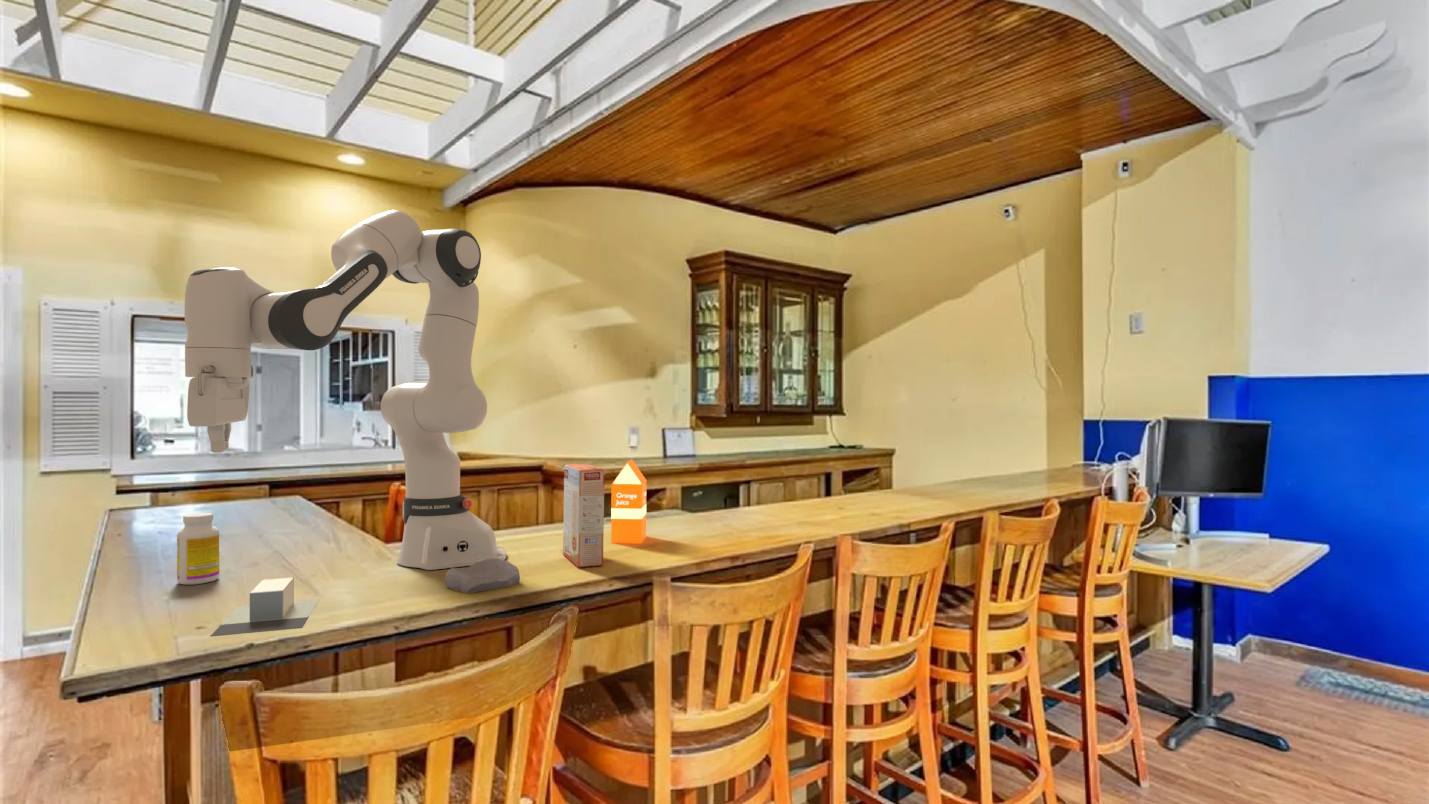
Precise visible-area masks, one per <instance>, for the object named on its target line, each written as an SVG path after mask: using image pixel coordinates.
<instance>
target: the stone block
mask: <svg viewBox="0 0 1429 804" xmlns="http://www.w3.org/2000/svg"><path fill="white" fill-rule="evenodd" d="M520 578H521V575H520V570H519V568H518V567H517V566H516V565H514V564H512V563H511V562H510V561H508V560H506V559H504V560H503V559H495V558H491V559H485V560H483V561H480V562H476V563H474V564H473V565H470V566H466V567H462V568H460V567H452V568H449V569H448V570H447V572H446V573H445V577H444V583H445V586H446V588H447V589H451V590H454V591H459V592H461V593H463V594H472V593H478V592H484V591H490V590H497V589H498V590H499V589H503V588H510V587H512V586H514V585H517V584H519V583H520V580H521V579H520Z"/></svg>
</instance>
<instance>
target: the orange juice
mask: <svg viewBox="0 0 1429 804" xmlns="http://www.w3.org/2000/svg"><path fill="white" fill-rule="evenodd" d="M647 481H648V480H647V479H646V478H645V476H644V475H643V473H642V472H641V470H640V468H639V467H638V465H637V464H636V462H635V461H634V460H633V458H631V459H629V460H628V461H627V462H626V463H625V465H624V466H623V468H622V469H621V470H620V472H619V474H618V475H617V476H616V478H615V479H614V480H613V482H612V483H611V502H610V503H611V505H610V507H611V508H610V511H611V515H610V518H611V521H610V524H611V526H610V528H611V529H610V530H611V531H610V533H611V534H610V537H611V538H610V539H611V540H610V543H611V544H642V543H643V541H644V540H645V538H646V537H647Z"/></svg>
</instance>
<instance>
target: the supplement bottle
mask: <svg viewBox="0 0 1429 804" xmlns="http://www.w3.org/2000/svg"><path fill="white" fill-rule="evenodd" d="M182 517H183V518H182V522H183V524H184V527H183V528H181V529H179V530H178V531H177V534H176V559H177V560H176V580H177V582H178V584H180V585H185V586H189V585H190V586H191V585H192V586H193V585H202V584H206V583H211V582H214V581H216V580H218V579H219V578H220V529H219V528H218V527H217V526H215V525H213V524H212V522H213V521H214V514H213V512H195V513H189V514H184V515H183V516H182Z"/></svg>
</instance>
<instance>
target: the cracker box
mask: <svg viewBox="0 0 1429 804" xmlns="http://www.w3.org/2000/svg"><path fill="white" fill-rule="evenodd" d="M605 470H606V469H604V468H601V467H597V466H595V465H591V464H589V463H568V464H566V463H565V464H564V467H563V471H564V472H563V530H562V531H563V535H562V540H563V541H562V543H563V544H562V546H563V547H562V555H563V556H566V557H565V558H567V560H569V562H571V563H572V564H573V565H574V566H576V567H577V568H591V567H590V566H592V567H602V566H603V565H604V535H605V533H604V528H605V527H604V525H605V521H604V520H605V474H606V473H605Z"/></svg>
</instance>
